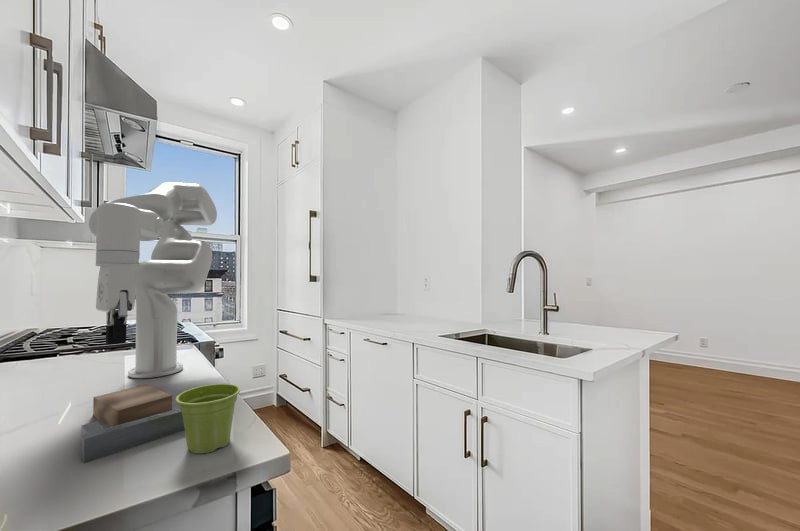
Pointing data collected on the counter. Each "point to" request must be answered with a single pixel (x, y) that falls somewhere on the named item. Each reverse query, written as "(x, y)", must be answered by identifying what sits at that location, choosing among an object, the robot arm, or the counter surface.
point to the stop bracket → (127, 434)
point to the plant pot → (208, 415)
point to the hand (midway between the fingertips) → (116, 343)
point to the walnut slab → (131, 405)
